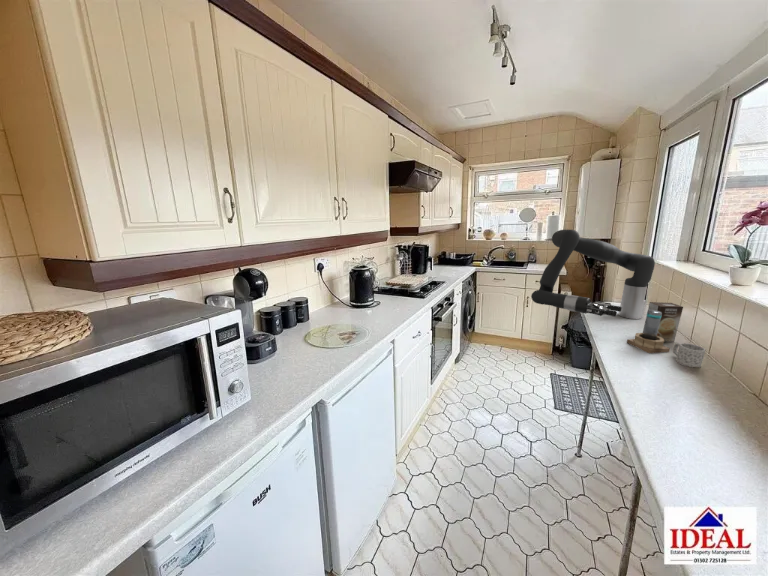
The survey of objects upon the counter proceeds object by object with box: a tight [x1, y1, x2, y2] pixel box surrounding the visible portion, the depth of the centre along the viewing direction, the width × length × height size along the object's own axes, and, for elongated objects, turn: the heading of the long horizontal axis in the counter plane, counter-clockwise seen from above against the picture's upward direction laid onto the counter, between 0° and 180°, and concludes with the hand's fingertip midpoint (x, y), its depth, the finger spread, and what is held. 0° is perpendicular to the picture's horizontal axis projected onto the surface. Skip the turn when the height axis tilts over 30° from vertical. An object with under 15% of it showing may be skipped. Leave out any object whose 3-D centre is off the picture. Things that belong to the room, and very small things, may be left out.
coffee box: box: [642, 301, 684, 343], centre depth 131 cm, size 9×6×16 cm
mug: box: [672, 342, 706, 368], centre depth 112 cm, size 10×7×7 cm, turn 176°
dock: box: [626, 332, 671, 354], centre depth 124 cm, size 9×10×4 cm
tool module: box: [642, 309, 662, 341], centre depth 123 cm, size 4×4×14 cm
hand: (618, 311), depth 130 cm, fingers open, 8 cm apart
